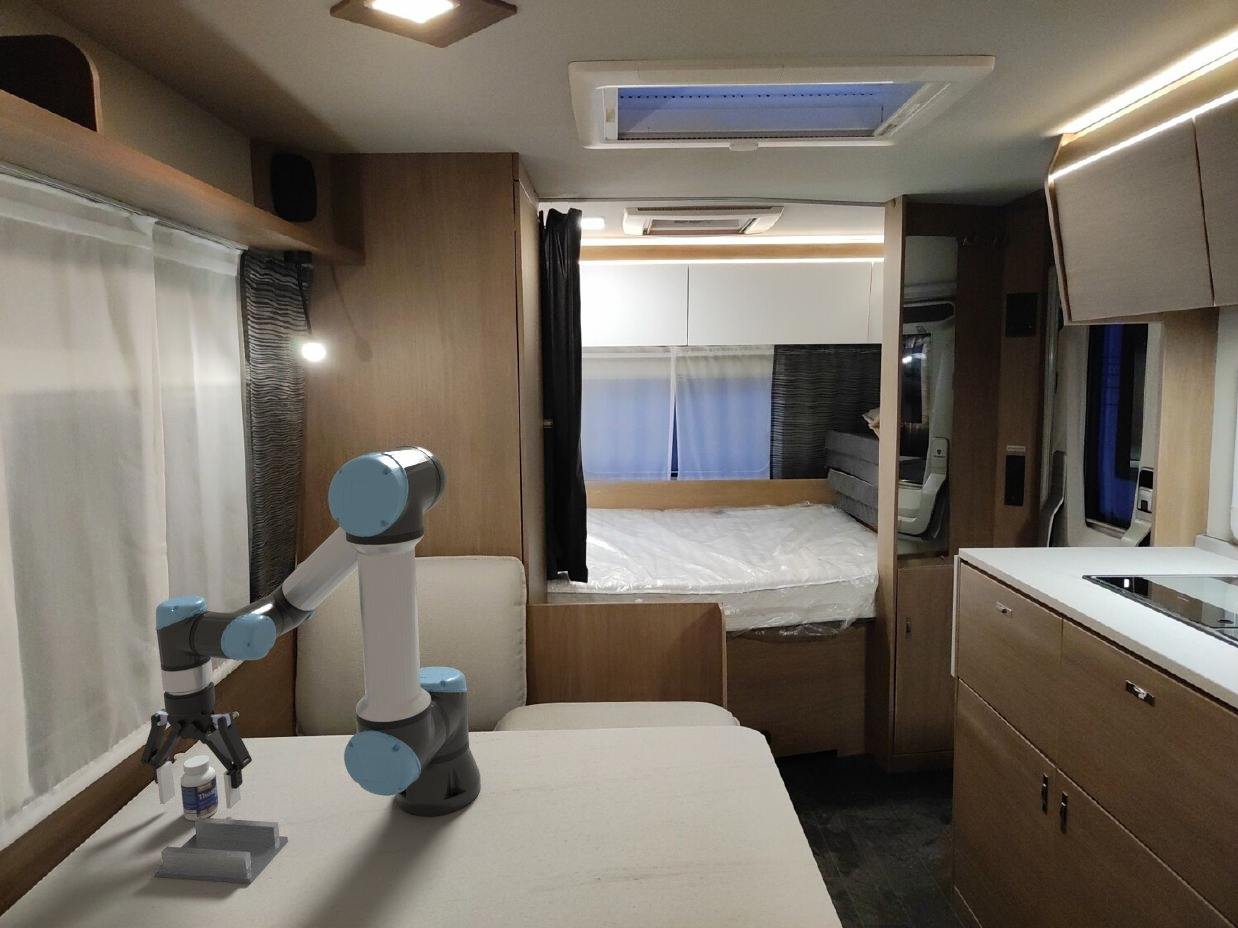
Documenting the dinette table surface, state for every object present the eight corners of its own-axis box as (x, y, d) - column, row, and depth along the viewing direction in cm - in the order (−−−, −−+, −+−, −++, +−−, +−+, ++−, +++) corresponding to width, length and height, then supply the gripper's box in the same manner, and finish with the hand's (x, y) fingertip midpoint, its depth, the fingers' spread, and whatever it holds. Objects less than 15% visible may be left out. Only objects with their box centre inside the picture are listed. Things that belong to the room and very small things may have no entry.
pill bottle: (203, 823, 126) (198, 770, 124) (176, 819, 127) (171, 767, 125) (226, 804, 131) (221, 754, 129) (200, 801, 132) (195, 751, 131)
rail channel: (287, 841, 120) (286, 819, 120) (250, 883, 110) (248, 860, 110) (199, 835, 122) (197, 814, 122) (154, 876, 112) (152, 853, 112)
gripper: (267, 679, 128) (276, 793, 131) (141, 674, 131) (154, 785, 134) (239, 698, 120) (251, 818, 123) (107, 692, 123) (121, 810, 126)
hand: (200, 801), depth 128 cm, fingers open, 12 cm apart
